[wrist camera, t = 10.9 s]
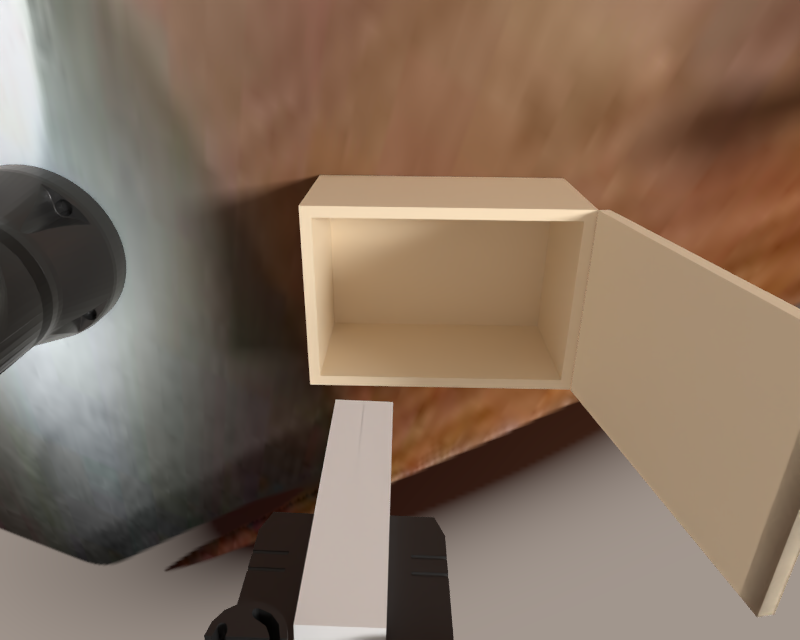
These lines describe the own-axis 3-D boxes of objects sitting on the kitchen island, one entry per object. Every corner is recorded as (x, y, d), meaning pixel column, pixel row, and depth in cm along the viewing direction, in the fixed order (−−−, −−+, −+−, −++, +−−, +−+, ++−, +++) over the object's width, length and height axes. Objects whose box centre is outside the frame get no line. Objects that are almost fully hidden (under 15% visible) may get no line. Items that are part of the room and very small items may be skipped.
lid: (757, 617, 27) (774, 614, 28) (860, 352, 21) (881, 350, 22) (570, 389, 45) (581, 389, 45) (598, 210, 39) (611, 209, 39)
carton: (327, 327, 55) (310, 384, 46) (319, 175, 49) (298, 205, 40) (544, 331, 54) (570, 389, 45) (563, 178, 48) (598, 209, 39)
